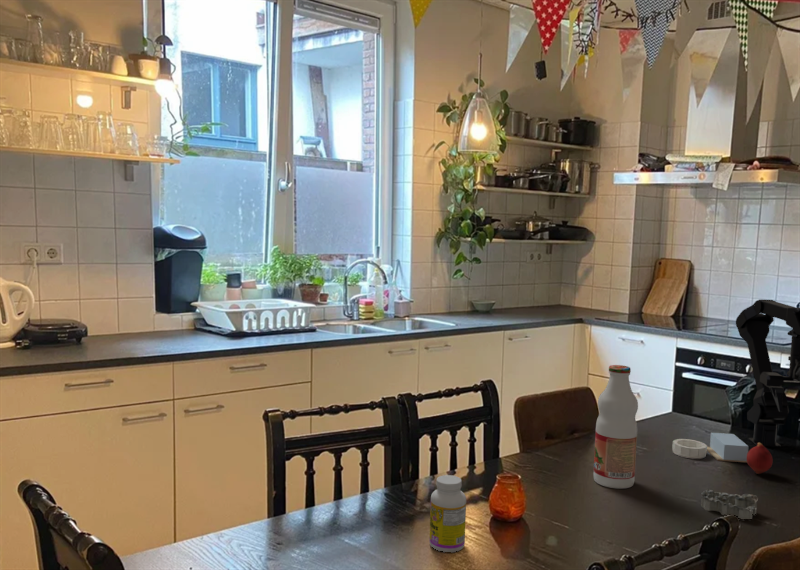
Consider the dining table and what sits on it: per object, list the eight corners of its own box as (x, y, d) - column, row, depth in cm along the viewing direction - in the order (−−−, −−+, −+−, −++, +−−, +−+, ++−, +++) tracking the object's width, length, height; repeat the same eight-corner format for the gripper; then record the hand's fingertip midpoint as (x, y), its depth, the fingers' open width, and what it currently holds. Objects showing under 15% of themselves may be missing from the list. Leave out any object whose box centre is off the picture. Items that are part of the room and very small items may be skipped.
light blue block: (710, 446, 193) (710, 432, 192) (732, 447, 192) (733, 434, 192) (723, 459, 182) (724, 444, 182) (747, 461, 181) (748, 446, 181)
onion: (765, 470, 175) (767, 439, 175) (775, 478, 170) (778, 447, 169) (741, 469, 176) (744, 438, 175) (751, 477, 170) (753, 445, 170)
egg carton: (759, 514, 148) (761, 496, 148) (748, 524, 143) (750, 505, 142) (708, 499, 156) (710, 482, 155) (696, 508, 150) (697, 490, 150)
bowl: (668, 447, 192) (669, 438, 192) (700, 449, 191) (700, 440, 191) (677, 457, 183) (678, 447, 183) (710, 459, 183) (711, 449, 182)
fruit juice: (623, 492, 158) (630, 372, 155) (585, 481, 164) (591, 366, 162) (640, 482, 164) (647, 367, 162) (604, 472, 171) (610, 361, 168)
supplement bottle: (427, 538, 132) (429, 472, 131) (461, 537, 132) (463, 472, 131) (431, 554, 125) (433, 486, 124) (467, 554, 126) (470, 485, 125)
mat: (704, 447, 193) (704, 446, 193) (737, 449, 192) (737, 448, 192) (717, 460, 182) (717, 459, 182) (753, 462, 181) (753, 461, 181)
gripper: (777, 358, 175) (772, 418, 176) (856, 362, 172) (851, 423, 174) (761, 351, 186) (756, 407, 187) (835, 354, 183) (830, 412, 185)
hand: (798, 412), depth 183 cm, fingers open, 9 cm apart
